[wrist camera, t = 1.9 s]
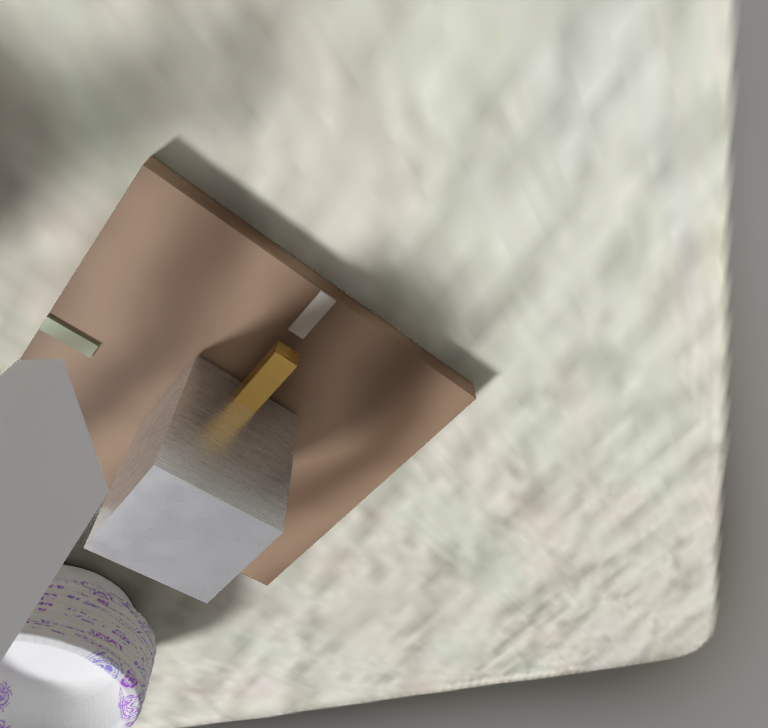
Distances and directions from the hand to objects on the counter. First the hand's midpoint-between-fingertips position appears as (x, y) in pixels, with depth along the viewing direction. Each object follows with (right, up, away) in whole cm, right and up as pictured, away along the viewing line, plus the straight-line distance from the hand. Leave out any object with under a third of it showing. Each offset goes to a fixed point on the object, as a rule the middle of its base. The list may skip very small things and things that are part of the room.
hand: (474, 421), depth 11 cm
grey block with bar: (-10, -1, +28) cm, 30 cm away
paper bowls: (-26, -18, +41) cm, 52 cm away
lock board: (-12, -2, +31) cm, 33 cm away
